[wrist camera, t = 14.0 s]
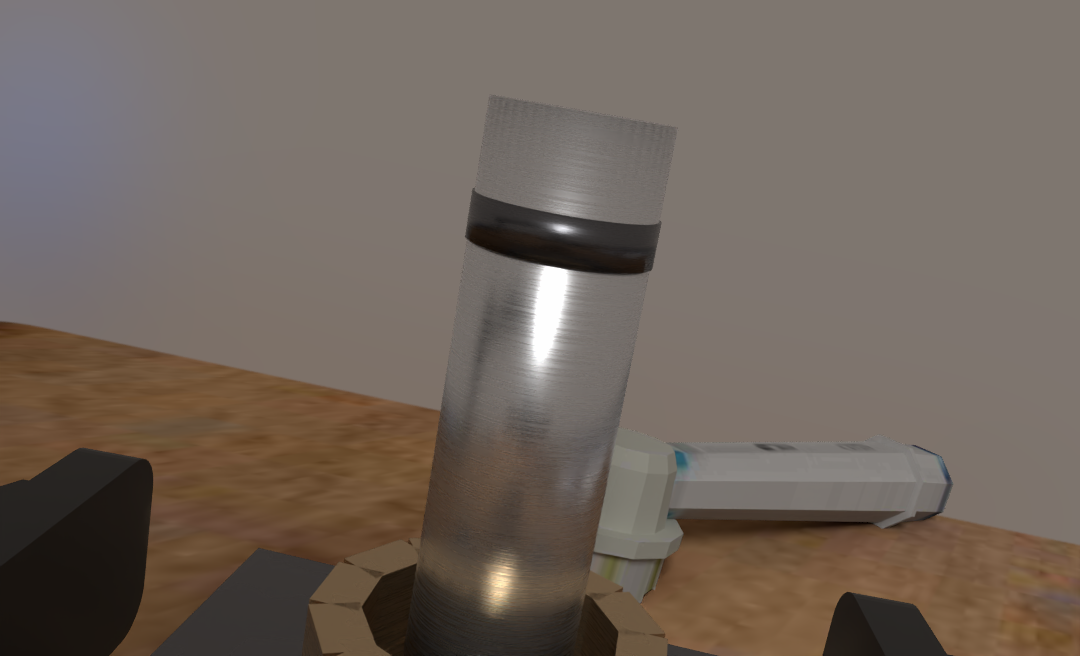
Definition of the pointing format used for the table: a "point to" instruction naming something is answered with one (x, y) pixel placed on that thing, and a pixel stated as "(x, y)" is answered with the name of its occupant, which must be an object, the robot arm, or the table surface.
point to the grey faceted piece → (752, 492)
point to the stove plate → (370, 611)
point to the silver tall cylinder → (536, 377)
